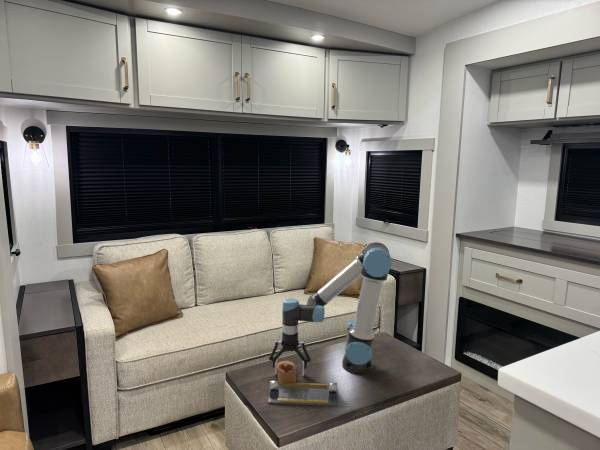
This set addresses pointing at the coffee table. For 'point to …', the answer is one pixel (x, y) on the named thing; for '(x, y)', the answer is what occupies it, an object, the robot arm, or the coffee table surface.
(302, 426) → the coffee table surface
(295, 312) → the robot arm
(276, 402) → the coupling bench
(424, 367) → the coffee table surface
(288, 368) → the bracket
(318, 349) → the coffee table surface
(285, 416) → the coffee table surface
